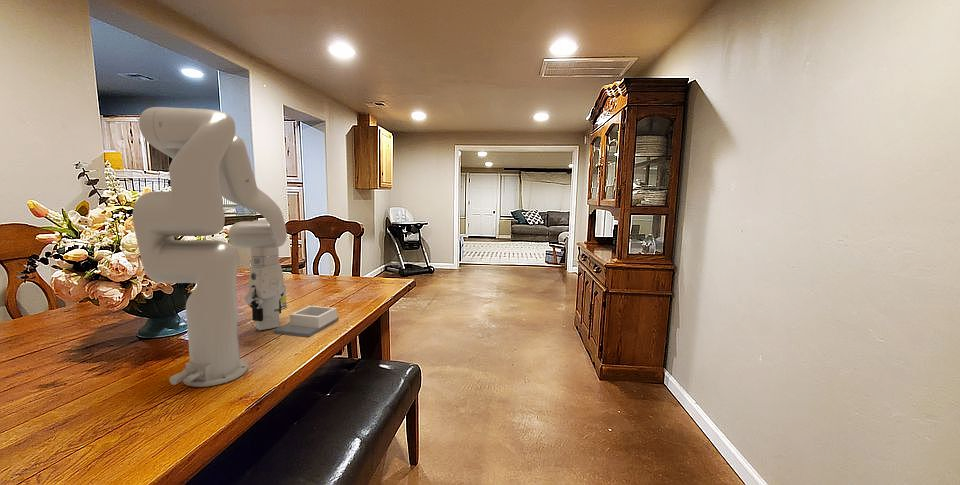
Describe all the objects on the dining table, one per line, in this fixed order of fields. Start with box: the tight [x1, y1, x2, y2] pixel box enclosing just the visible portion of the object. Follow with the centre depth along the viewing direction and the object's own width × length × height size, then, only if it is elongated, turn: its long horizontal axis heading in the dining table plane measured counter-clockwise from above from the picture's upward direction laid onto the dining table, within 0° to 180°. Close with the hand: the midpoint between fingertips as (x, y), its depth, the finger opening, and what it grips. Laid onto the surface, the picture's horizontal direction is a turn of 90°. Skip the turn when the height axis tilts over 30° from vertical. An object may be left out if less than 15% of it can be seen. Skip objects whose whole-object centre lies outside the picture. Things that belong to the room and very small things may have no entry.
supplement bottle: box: [281, 288, 287, 310], centre depth 142 cm, size 6×6×10 cm
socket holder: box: [272, 305, 340, 338], centre depth 124 cm, size 16×12×4 cm
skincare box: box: [254, 289, 281, 331], centre depth 122 cm, size 6×4×12 cm
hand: (267, 316), depth 122 cm, fingers closed on skincare box, 7 cm apart
